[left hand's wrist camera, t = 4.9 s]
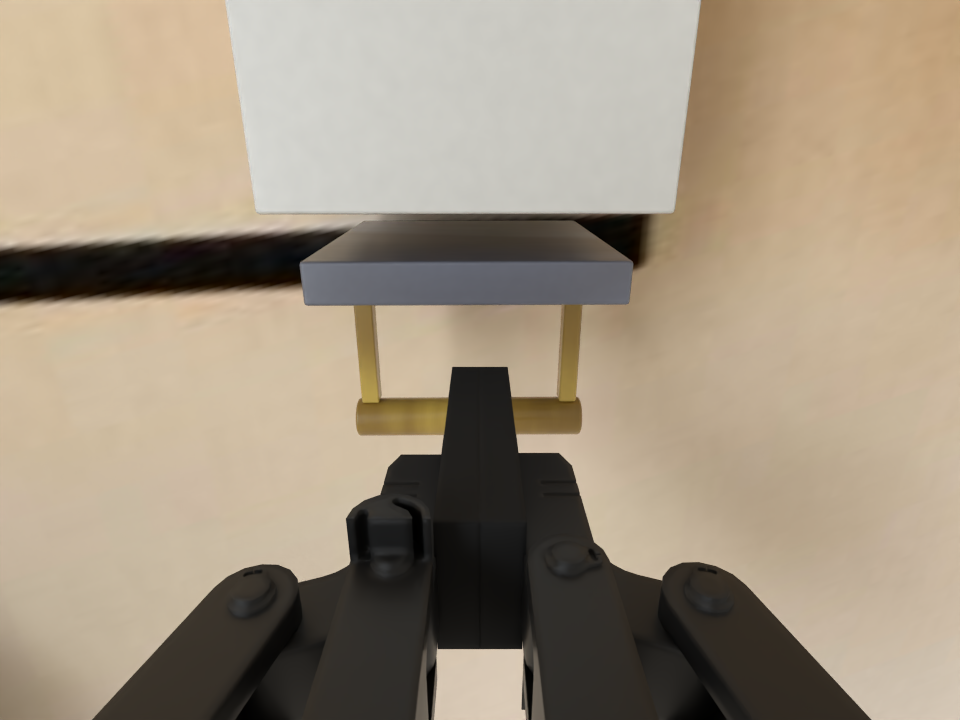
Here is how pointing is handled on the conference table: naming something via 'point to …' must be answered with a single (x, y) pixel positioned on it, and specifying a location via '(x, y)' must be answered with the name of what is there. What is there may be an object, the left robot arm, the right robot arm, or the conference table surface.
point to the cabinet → (464, 104)
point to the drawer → (466, 299)
